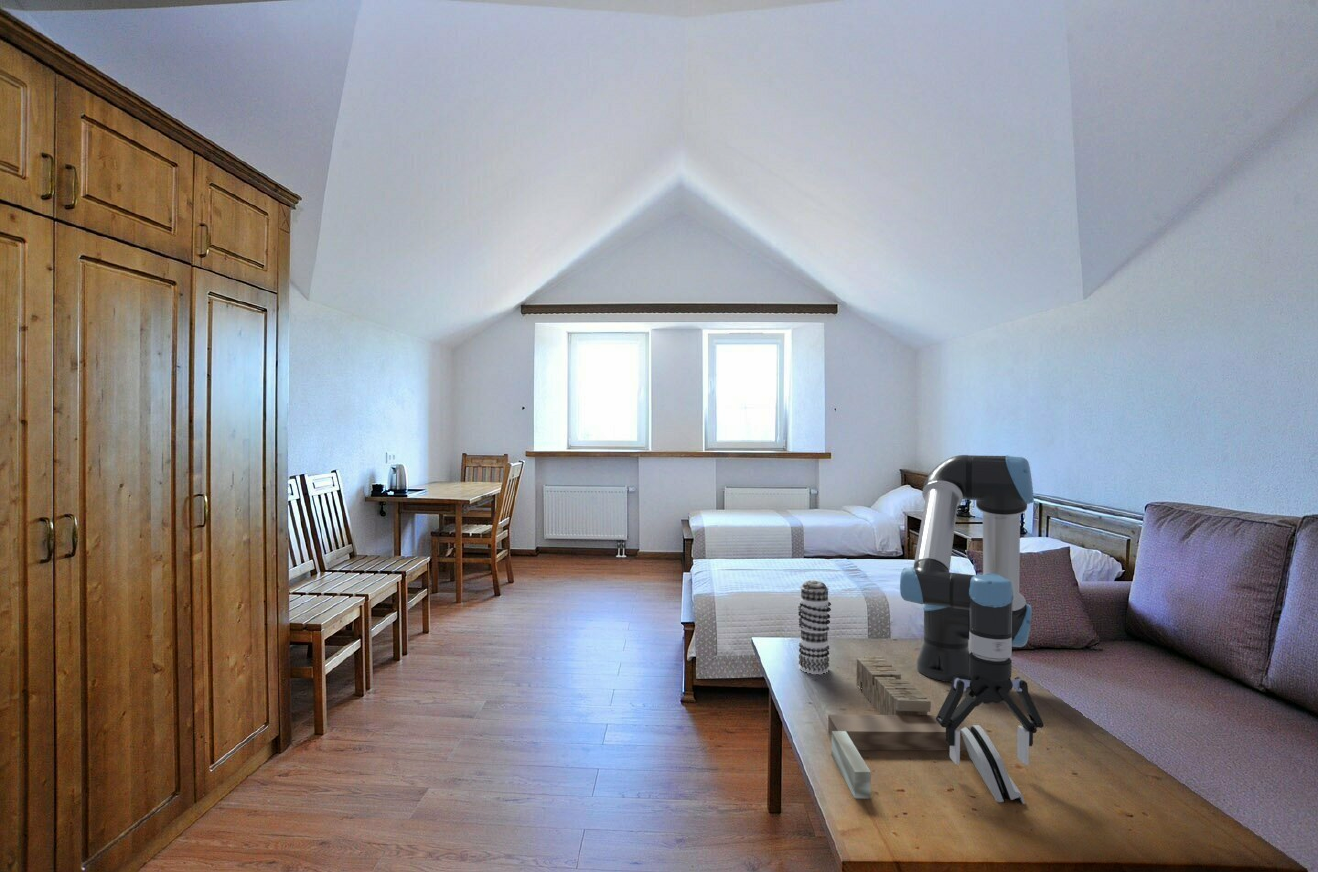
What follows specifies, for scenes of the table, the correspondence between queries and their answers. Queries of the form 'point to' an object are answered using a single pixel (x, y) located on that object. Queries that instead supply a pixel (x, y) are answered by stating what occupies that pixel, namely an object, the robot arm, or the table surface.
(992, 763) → the grey arched slotted casing
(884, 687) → the block tower
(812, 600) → the decorative candle
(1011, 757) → the table surface
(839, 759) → the board
